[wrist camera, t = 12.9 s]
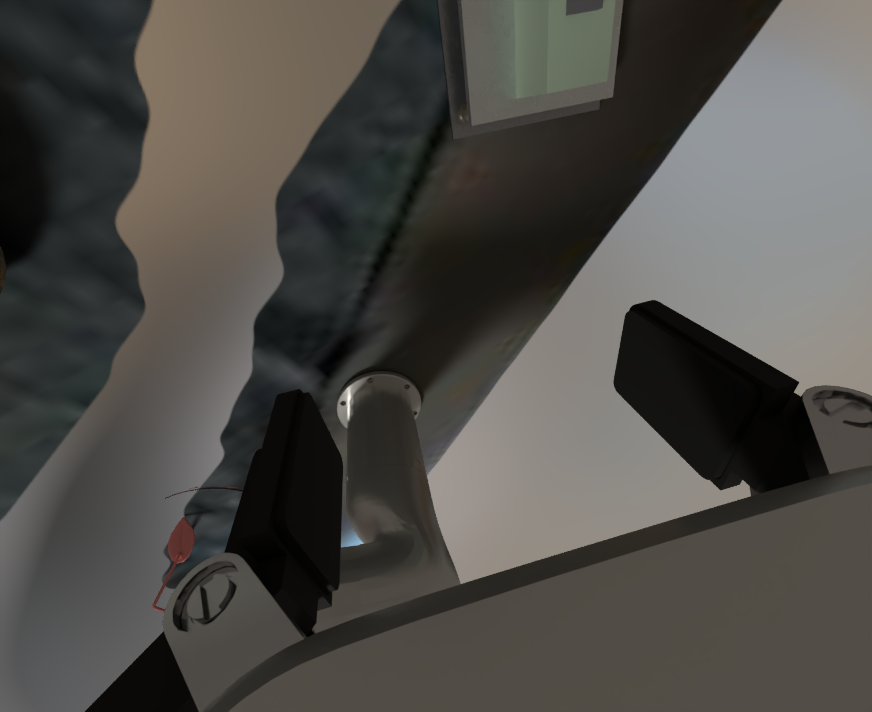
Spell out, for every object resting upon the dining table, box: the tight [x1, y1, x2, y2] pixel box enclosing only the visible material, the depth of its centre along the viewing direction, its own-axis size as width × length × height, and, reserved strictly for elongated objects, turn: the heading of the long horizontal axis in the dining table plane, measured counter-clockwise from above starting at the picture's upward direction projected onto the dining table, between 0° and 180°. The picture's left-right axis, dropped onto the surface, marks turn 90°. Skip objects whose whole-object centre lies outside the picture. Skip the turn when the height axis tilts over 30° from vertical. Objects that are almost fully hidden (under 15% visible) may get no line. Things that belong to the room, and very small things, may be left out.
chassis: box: [437, 0, 623, 140], centre depth 31 cm, size 14×16×4 cm
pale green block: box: [514, 0, 616, 99], centre depth 26 cm, size 9×5×7 cm, turn 9°
